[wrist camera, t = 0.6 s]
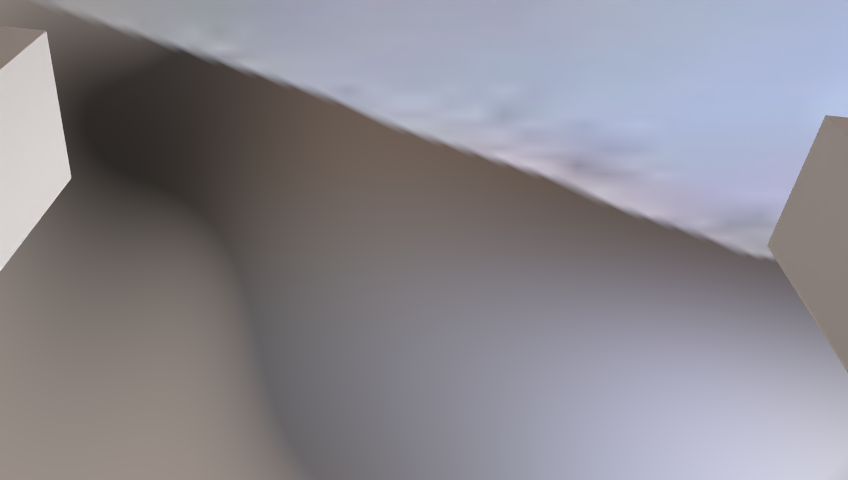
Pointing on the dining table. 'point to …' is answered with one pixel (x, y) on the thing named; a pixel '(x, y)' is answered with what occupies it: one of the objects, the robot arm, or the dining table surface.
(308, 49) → the dining table surface
